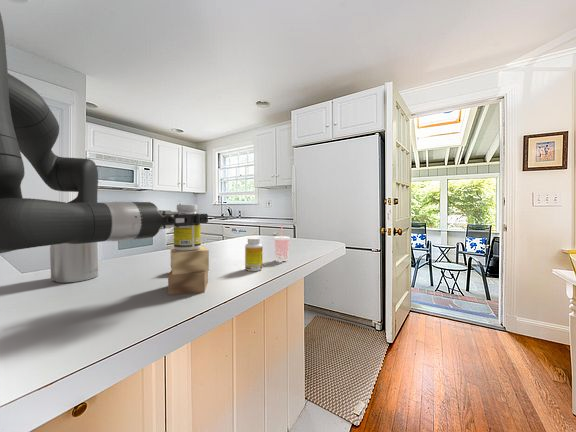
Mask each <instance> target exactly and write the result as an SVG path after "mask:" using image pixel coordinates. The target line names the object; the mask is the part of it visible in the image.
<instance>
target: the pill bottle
mask: <svg viewBox="0 0 576 432" xmlns="http://www.w3.org/2000/svg"><path fill="white" fill-rule="evenodd" d="M197 210H198V204H176V212H185V213H186V214H192V213H195V214H196V213H197ZM201 229H202V227H201V224H200V225H198V226H196V225H191V226H185V227H173V247H174V249H175V250H178V251H191V250H197V249H199V248H200V247H201V246H202V237H201V236H202V235H201V234H202V233H201Z"/></svg>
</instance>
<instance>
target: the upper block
mask: <svg viewBox="0 0 576 432" xmlns="http://www.w3.org/2000/svg"><path fill="white" fill-rule="evenodd" d="M209 251H210V250H209V249H208V248H207V247H206V246H204V245H201V247H200V248H199V249H197V250H191V251H178V250H175V249H174V246H173V247H170V271H171V270H172V274H173V275H174V274H183V273H192V272H201V271H208V272H209V271H210V268H209V267H210V263H209V262H210V259H209V256H210V254H209Z"/></svg>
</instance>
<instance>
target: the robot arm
mask: <svg viewBox="0 0 576 432" xmlns="http://www.w3.org/2000/svg"><path fill="white" fill-rule="evenodd" d="M3 21H4V20H3V18H2V13H1V12H0V254H5V253H10V252H13V251H18V250H24V249H31V248H38V247H39V248H40V247H47V246H49V256H50V257H49V259H50V262H49V263H50V281H51V282H53V281H54V282H56V283H62V284H63V283H74V282H77V283H78V282H82V281H87V280H91V279H94V278H96V277H98V276H99V253H98V243H99V242H120V241H121V242H123V241H132V240H140V239H142V240H143V239H149V238H154V237H155V236H156V235H157V234H159V232H160V229H161V228H162V229H167V230H168V229H172V228H174V227H185V226H191V225H196V226H198V225H200V226H201V224H208V223H209V214H208V213H198V212H196V214H195V213H192V214H186V213H185V212H178V211H172V210H163V209H162V210H159V208H158V206H157V205H156V204H155V203H153V202H150V201H107V202H98V189H99V171H98V167H97V165H96V163H95V162H94V160H93V159H90V158H81V157H64V156H58V155H56V154H55V153H54V152H53V151H52V148H53V147H54V145H55V144H56V142H57V140H58V137H59V134H60V123H59V122H58V120H57V118H56V117H55V114H54V113H53V111H52V110H51V109H50V107H49V106H48V104H47V103H46V101H45V99H44V98H43V97H42V96H41V95H40V94H39V93H38V92H37V91H36V90H35V89H33V88H32V87H31V86H29V85H28V84H27V83H25V82H23V81H22V80H20V79H19V78H17V77H15V76H14V75H12V74H10V73H8V59H7V49H6V37H5V29H4V23H3ZM22 155H23V157H25V159H26V160H27V161H28V162H29V163H30V165H31V166H32V168H33V169H34V171H36V174H38V176H39V177H40V179H42V181H43V182H44V183H45V185H46V186H47V187H48V188H49V189H51V190H53V191H57V192H65V193H66V192H67V193H68V192H73V193H75V192H76V193H77V196H76V197H75V198H74V199H72V200H71V201H68V202H64V201H57V200H49V199H42V198H41V199H40V198H27V197H25V198H24V197H23V194H22V193H23V192H22V188H21V185H22V182H23V180H24V178H25V165H24V160H23V157H22Z"/></svg>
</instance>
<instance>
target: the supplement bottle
mask: <svg viewBox="0 0 576 432" xmlns="http://www.w3.org/2000/svg"><path fill="white" fill-rule="evenodd" d="M244 266H245V267H244V268H245V270H246V271H247V270H248V271H247V272H259V271H262V269H263V244H262V243H261V238H260V237H248V238H247V243H246V244H245V246H244Z"/></svg>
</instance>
